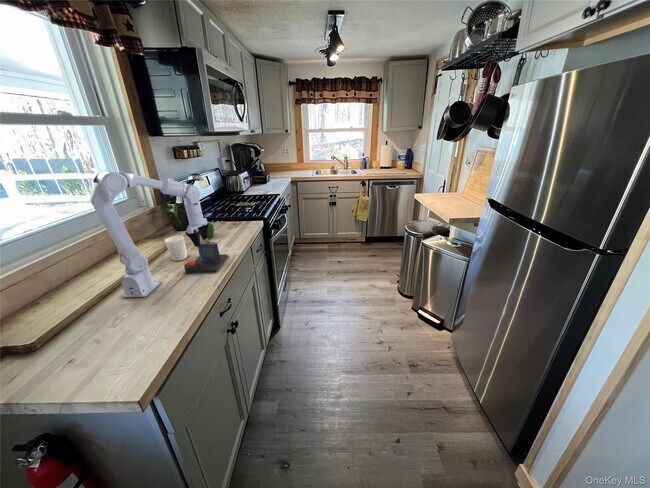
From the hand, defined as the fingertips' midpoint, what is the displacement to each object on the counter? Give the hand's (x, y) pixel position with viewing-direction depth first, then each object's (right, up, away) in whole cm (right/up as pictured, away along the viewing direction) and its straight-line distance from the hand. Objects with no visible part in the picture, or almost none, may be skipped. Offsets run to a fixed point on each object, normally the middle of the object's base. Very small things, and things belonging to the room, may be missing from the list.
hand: (201, 242), depth 114 cm
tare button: (-3, -10, -2) cm, 10 cm away
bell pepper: (-13, +3, +35) cm, 37 cm away
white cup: (-16, -7, +11) cm, 20 cm away
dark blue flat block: (+3, -8, +4) cm, 9 cm away
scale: (+1, -10, +3) cm, 10 cm away
